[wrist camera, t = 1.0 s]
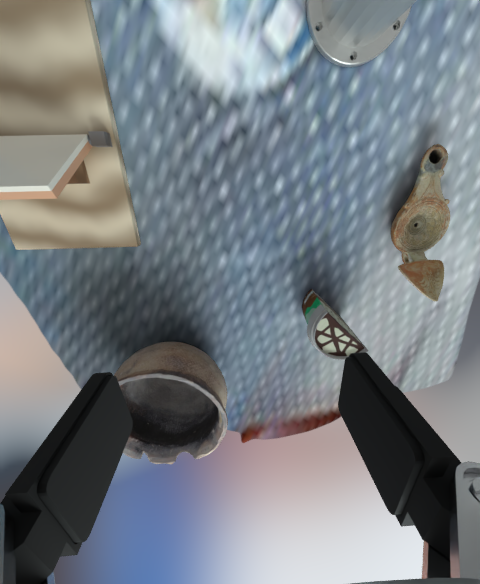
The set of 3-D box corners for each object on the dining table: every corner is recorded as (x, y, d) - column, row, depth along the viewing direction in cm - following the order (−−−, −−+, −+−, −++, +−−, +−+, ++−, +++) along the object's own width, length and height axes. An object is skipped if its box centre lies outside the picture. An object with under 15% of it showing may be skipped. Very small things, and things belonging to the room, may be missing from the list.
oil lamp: (372, 279, 44) (408, 304, 35) (395, 149, 35) (451, 138, 26) (418, 274, 44) (465, 299, 35) (453, 143, 35) (529, 130, 26)
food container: (282, 304, 46) (294, 334, 37) (306, 283, 44) (325, 310, 35) (321, 338, 50) (340, 373, 41) (344, 320, 48) (370, 352, 39)
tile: (-8, 145, 32) (-18, 133, 31) (94, 143, 33) (88, 131, 31) (-74, 201, 25) (-91, 188, 24) (56, 198, 25) (47, 185, 24)
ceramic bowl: (140, 399, 57) (111, 468, 43) (116, 324, 47) (69, 382, 34) (231, 395, 57) (230, 462, 43) (225, 319, 47) (222, 375, 34)
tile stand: (-87, -8, 27) (-144, -42, 23) (88, -10, 27) (62, -43, 23) (23, 247, 40) (0, 255, 36) (140, 244, 40) (130, 251, 36)
